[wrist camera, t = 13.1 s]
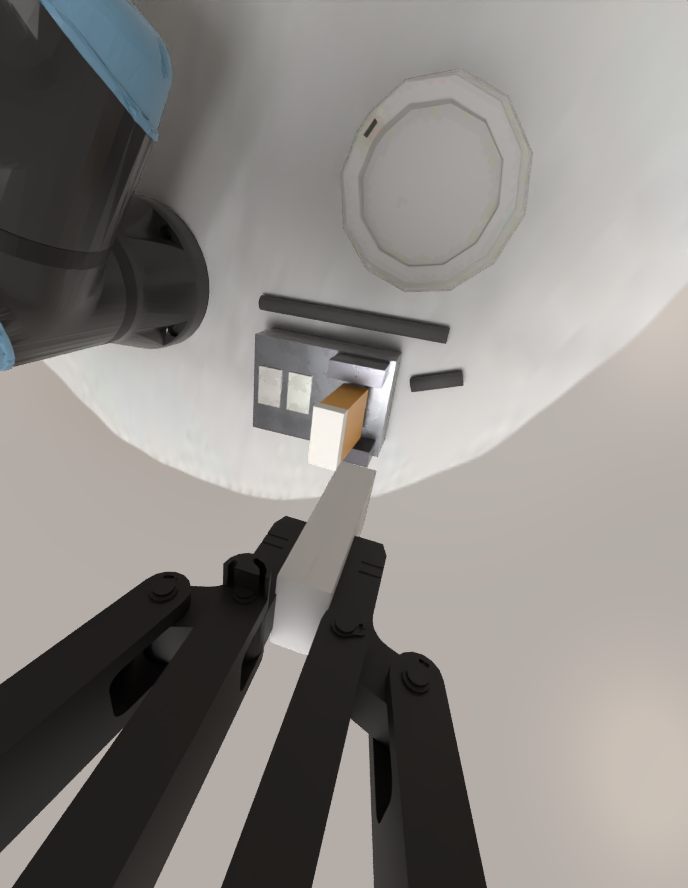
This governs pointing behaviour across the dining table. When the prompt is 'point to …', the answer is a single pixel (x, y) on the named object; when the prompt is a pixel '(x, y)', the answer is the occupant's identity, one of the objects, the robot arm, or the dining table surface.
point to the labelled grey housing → (320, 385)
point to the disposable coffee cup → (436, 181)
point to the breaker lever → (337, 425)
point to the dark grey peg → (436, 381)
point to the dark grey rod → (355, 319)
